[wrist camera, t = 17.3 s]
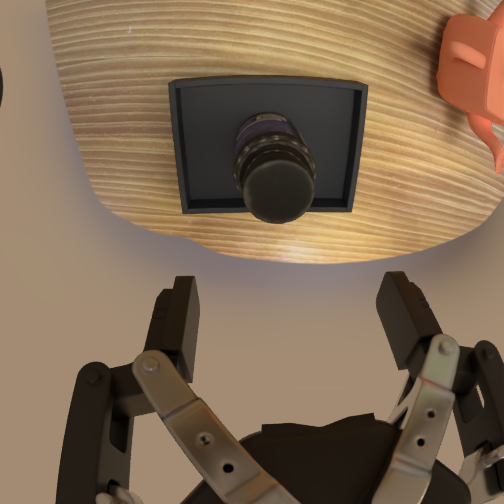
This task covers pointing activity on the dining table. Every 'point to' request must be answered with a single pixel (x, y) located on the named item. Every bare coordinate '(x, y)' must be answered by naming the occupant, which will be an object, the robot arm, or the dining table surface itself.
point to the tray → (255, 102)
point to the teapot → (475, 73)
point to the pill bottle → (273, 168)
